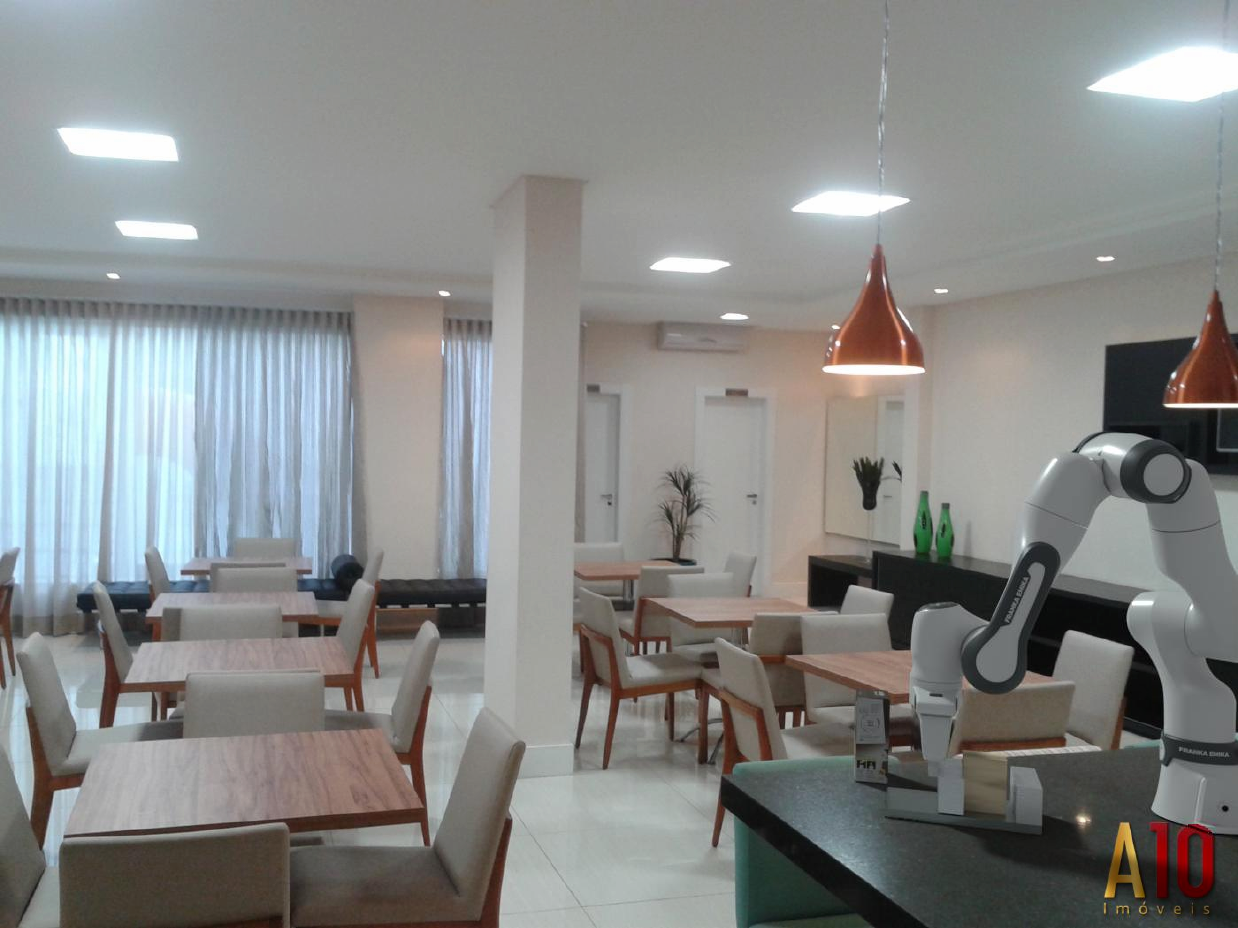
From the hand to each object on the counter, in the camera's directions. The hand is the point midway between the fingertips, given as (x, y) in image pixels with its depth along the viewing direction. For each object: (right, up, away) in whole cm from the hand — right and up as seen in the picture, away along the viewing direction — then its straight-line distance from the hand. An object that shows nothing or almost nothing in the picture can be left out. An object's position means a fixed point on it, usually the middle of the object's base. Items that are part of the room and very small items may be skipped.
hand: (933, 774), depth 185 cm
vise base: (+4, -6, -1) cm, 8 cm away
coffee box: (-6, -7, +20) cm, 22 cm away
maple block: (+8, -5, -2) cm, 10 cm away
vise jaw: (+3, -5, -1) cm, 5 cm away
